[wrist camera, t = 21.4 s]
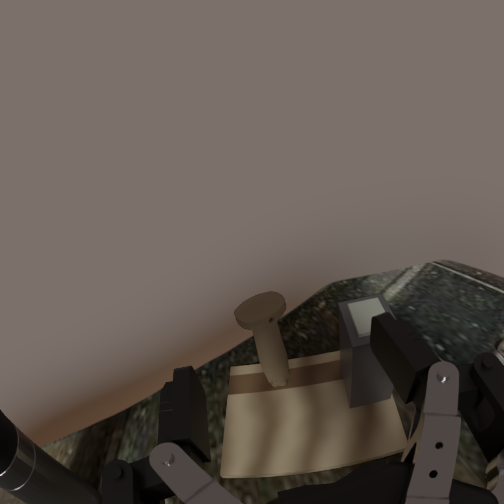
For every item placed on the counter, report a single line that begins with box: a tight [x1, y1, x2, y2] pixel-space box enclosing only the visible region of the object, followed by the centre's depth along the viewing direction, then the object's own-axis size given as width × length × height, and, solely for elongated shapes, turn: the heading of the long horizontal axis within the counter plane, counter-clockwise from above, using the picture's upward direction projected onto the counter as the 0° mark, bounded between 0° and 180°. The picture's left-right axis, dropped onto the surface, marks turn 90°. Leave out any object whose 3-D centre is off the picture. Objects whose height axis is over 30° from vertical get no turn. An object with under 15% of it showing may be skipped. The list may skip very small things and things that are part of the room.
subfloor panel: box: [220, 351, 407, 478], centre depth 37 cm, size 24×20×1 cm
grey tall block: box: [338, 294, 396, 408], centre depth 35 cm, size 6×8×14 cm
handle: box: [234, 291, 289, 387], centre depth 39 cm, size 5×6×15 cm
